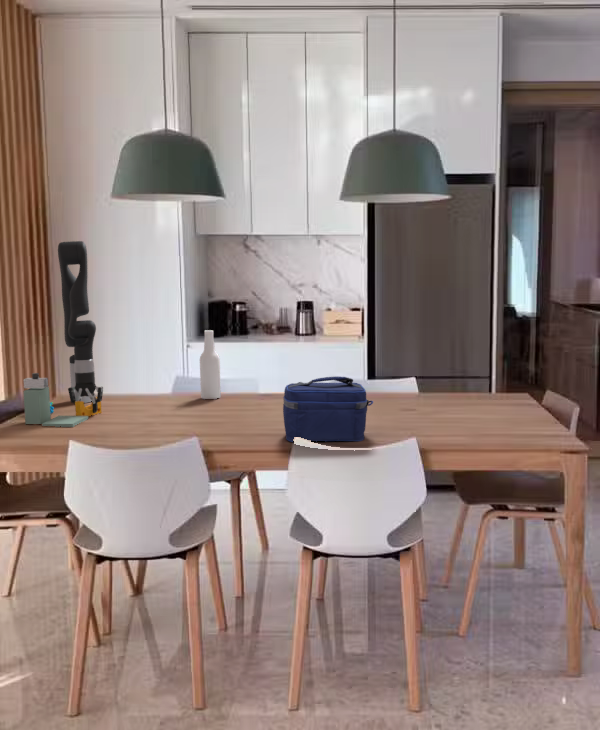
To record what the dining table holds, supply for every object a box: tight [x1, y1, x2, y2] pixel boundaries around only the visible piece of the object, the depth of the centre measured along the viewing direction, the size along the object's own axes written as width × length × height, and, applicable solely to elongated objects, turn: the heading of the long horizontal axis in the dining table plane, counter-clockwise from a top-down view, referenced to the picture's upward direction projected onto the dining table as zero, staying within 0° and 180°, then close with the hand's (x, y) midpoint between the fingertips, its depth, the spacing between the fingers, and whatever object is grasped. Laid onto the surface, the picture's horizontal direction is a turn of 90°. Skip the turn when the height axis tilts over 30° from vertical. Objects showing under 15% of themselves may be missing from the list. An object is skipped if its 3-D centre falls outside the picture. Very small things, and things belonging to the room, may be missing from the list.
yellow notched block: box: [74, 396, 103, 417], centre depth 319 cm, size 12×4×6 cm, turn 153°
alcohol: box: [199, 329, 222, 400], centre depth 351 cm, size 9×9×30 cm
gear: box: [50, 401, 55, 414], centre depth 324 cm, size 11×6×10 cm
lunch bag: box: [282, 376, 374, 443], centre depth 275 cm, size 31×21×20 cm
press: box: [23, 386, 89, 428], centre depth 305 cm, size 15×20×13 cm
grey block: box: [23, 372, 49, 389], centre depth 305 cm, size 4×8×5 cm, turn 83°
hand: (87, 412), depth 319 cm, fingers open, 5 cm apart
